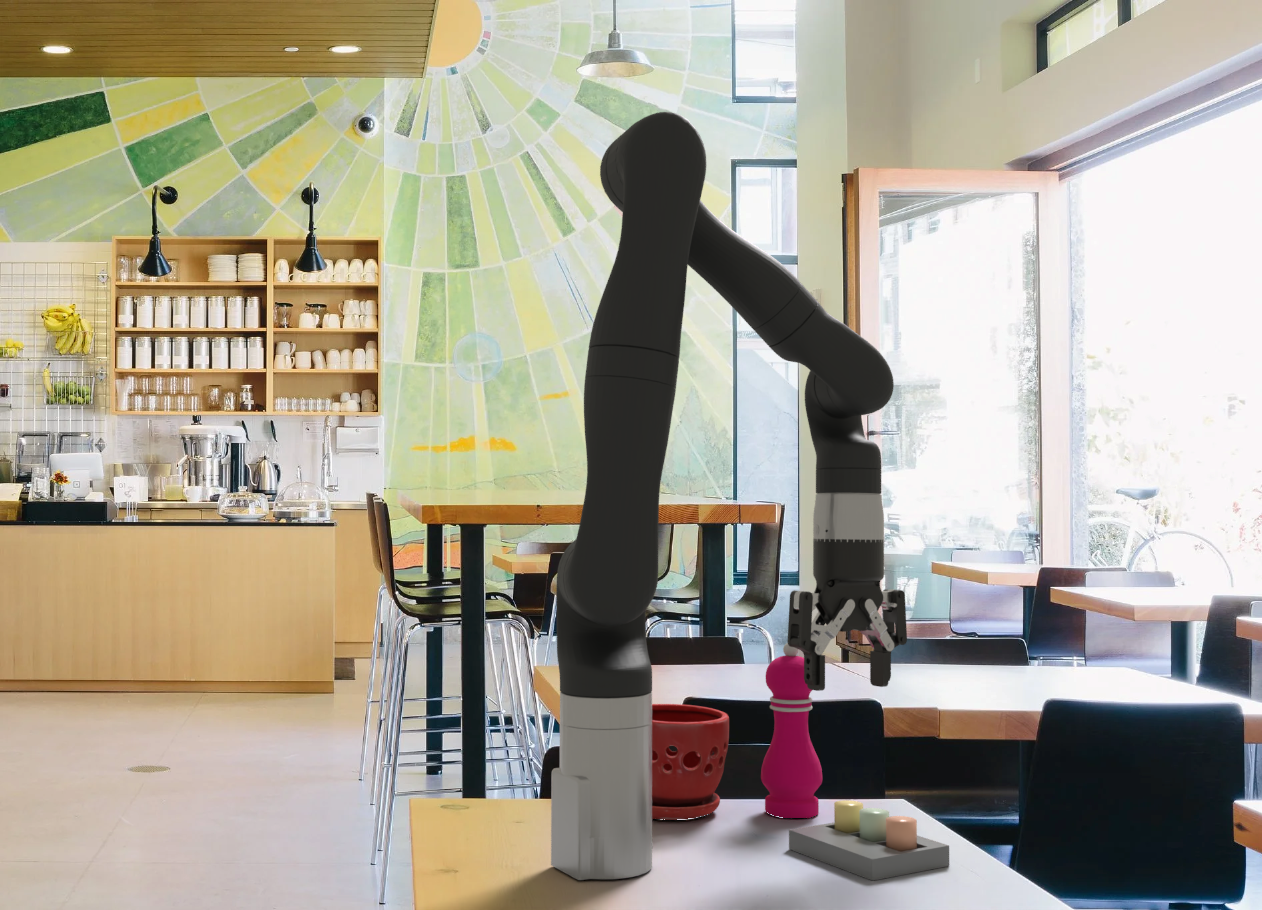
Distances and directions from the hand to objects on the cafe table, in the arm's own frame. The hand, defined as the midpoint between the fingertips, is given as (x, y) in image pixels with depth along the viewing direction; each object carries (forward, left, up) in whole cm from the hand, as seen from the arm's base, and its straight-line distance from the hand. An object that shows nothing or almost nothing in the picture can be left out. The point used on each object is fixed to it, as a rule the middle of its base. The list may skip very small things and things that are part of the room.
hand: (848, 687), depth 130 cm
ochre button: (-1, -1, -15) cm, 15 cm away
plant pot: (-9, +21, -17) cm, 28 cm away
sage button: (-1, -5, -15) cm, 16 cm away
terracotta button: (-1, -9, -15) cm, 17 cm away
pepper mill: (+3, +14, -17) cm, 22 cm away
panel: (-2, -5, -17) cm, 17 cm away
